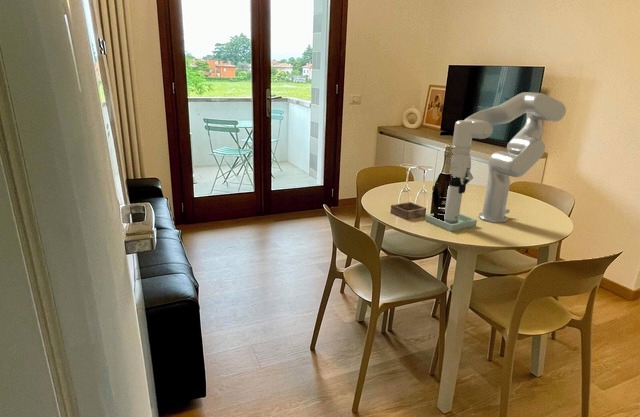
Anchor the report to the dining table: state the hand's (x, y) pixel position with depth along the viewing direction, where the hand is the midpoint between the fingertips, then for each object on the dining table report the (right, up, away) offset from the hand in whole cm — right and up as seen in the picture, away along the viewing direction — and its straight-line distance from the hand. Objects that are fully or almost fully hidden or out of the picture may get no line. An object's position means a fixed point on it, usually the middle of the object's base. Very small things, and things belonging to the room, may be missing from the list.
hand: (455, 190), depth 184 cm
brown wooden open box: (-18, -11, +15) cm, 25 cm away
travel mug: (0, -14, +4) cm, 14 cm away
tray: (-1, -15, +5) cm, 15 cm away
